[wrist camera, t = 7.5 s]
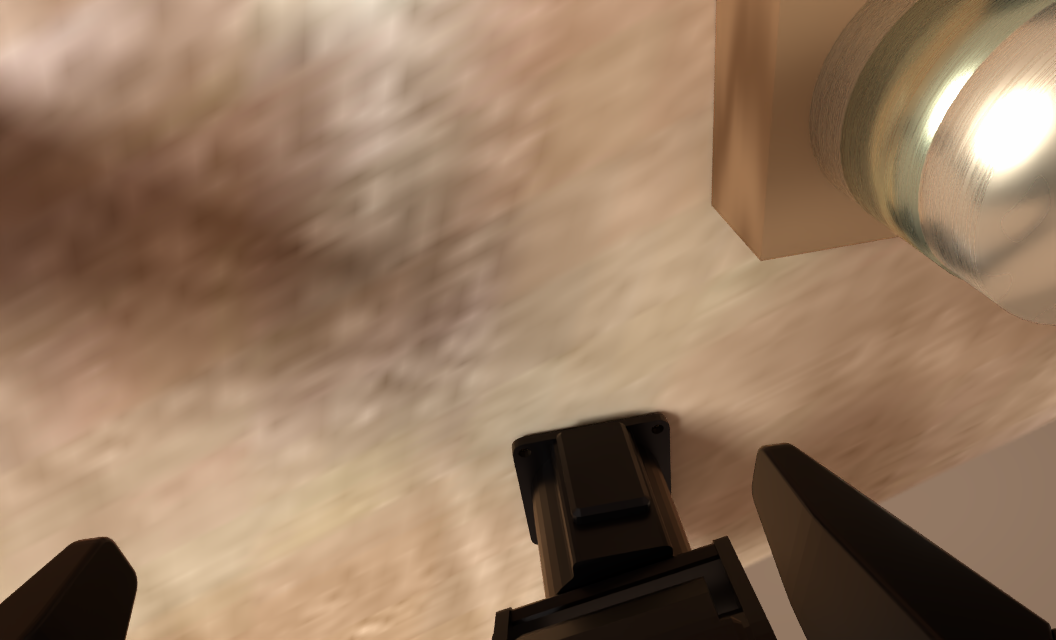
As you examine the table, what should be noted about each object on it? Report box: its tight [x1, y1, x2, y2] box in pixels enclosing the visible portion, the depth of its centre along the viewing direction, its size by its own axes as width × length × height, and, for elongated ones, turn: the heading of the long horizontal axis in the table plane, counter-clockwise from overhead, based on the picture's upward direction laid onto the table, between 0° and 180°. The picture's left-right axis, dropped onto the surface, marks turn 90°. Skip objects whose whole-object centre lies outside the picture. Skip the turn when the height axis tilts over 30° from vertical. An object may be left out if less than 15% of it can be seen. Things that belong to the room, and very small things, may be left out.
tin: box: [809, 0, 1056, 325], centre depth 13 cm, size 6×6×6 cm
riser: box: [712, 0, 899, 261], centre depth 17 cm, size 8×8×4 cm
